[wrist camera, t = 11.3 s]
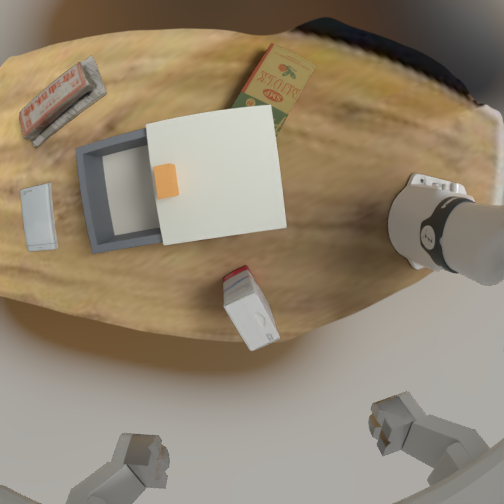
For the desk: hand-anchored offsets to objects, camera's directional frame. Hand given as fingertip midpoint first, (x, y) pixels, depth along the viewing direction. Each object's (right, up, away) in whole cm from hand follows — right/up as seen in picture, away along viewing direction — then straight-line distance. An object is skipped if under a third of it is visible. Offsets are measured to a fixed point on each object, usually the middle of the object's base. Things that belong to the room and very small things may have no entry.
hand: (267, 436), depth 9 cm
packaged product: (-36, +35, +30) cm, 58 cm away
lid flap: (-5, +17, +27) cm, 33 cm away
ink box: (-1, 0, +41) cm, 41 cm away
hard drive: (-42, +13, +35) cm, 56 cm away
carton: (+2, +32, +33) cm, 46 cm away
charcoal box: (-18, +17, +35) cm, 43 cm away
